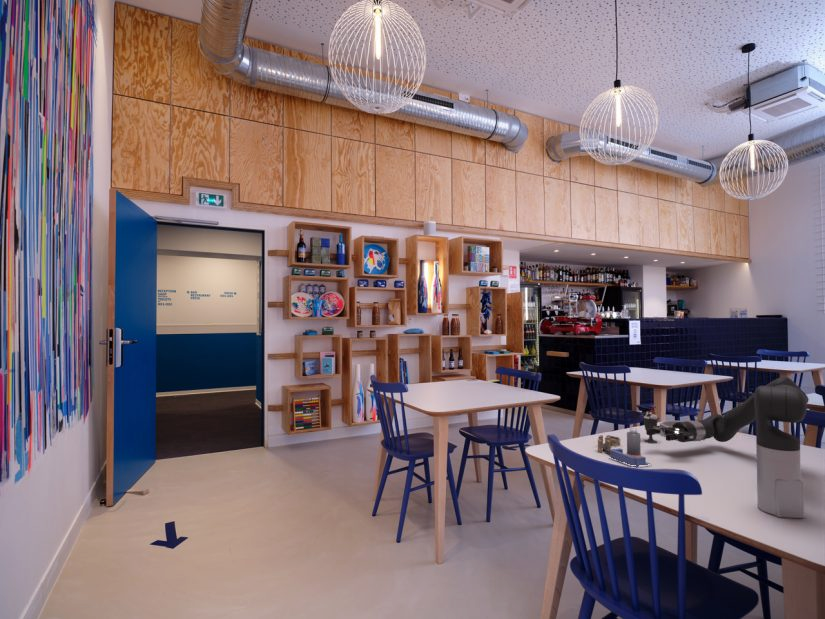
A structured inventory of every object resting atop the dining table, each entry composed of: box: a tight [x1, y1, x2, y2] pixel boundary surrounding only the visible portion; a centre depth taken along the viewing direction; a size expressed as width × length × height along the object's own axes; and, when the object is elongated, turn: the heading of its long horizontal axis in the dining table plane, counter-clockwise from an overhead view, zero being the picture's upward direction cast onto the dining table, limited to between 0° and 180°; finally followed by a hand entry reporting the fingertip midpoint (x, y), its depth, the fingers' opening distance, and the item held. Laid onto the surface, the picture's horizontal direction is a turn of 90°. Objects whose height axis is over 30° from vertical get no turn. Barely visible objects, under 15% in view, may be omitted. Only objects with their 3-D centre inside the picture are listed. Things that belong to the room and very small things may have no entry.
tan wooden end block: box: [604, 434, 621, 448], centre depth 185 cm, size 4×4×3 cm
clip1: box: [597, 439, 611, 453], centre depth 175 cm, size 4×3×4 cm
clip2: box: [597, 434, 612, 449], centre depth 181 cm, size 4×3×4 cm
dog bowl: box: [659, 420, 706, 442], centre depth 199 cm, size 17×18×5 cm
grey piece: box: [625, 427, 642, 457], centre depth 164 cm, size 5×5×11 cm
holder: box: [609, 447, 651, 468], centre depth 163 cm, size 8×12×3 cm, turn 20°
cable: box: [602, 442, 612, 455], centre depth 178 cm, size 16×4×1 cm, turn 155°
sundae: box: [641, 406, 660, 444], centre depth 190 cm, size 7×7×15 cm
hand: (656, 434), depth 168 cm, fingers open, 8 cm apart
